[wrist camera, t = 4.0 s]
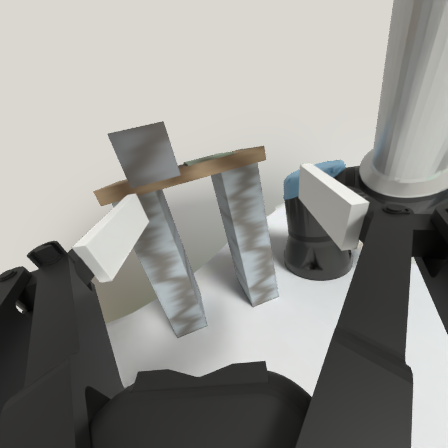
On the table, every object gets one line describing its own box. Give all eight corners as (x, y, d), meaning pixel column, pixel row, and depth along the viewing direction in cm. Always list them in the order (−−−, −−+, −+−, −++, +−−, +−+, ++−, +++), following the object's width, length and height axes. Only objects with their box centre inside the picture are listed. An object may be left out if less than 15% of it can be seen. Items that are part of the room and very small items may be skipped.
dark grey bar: (175, 165, 43) (169, 146, 41) (180, 175, 15) (163, 121, 14) (158, 169, 42) (151, 151, 40) (131, 188, 15) (107, 133, 13)
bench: (260, 267, 49) (237, 148, 38) (285, 298, 38) (263, 143, 27) (172, 300, 46) (118, 179, 34) (172, 344, 35) (92, 189, 23)
